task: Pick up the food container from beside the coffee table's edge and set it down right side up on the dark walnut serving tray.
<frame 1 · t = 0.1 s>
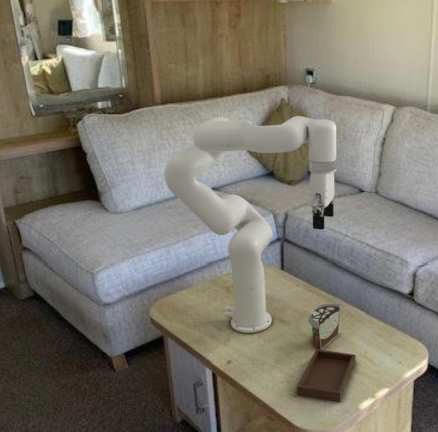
hand: (323, 222, 178), 37 cm above the table, tool pointing down, fingers open, 9 cm apart
tray: (327, 378, 170), on the table
food container: (321, 340, 188), on the table
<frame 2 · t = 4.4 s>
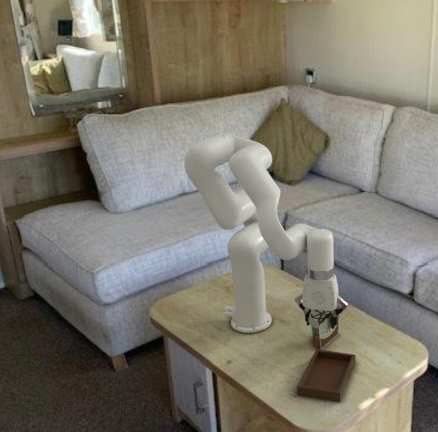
hand: (321, 324, 186), 5 cm above the table, tool pointing down, fingers closed on food container, 7 cm apart
food container: (321, 340, 188), on the table, touching gripper
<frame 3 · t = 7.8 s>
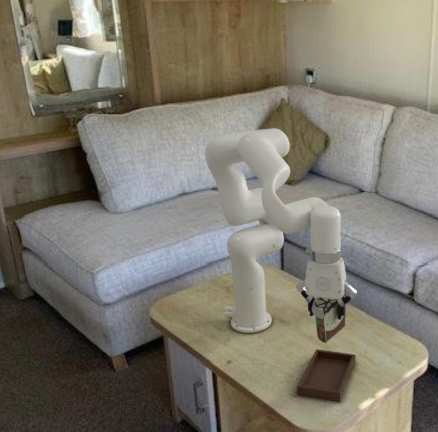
hand: (326, 314, 164), 19 cm above the table, tool pointing down, fingers closed on food container, 7 cm apart
food container: (326, 332, 166), point 14 cm above the table, touching gripper
when the fingers open (6 cm above the table, at t = 11.3 s): food container stays where it is, resting on tray.
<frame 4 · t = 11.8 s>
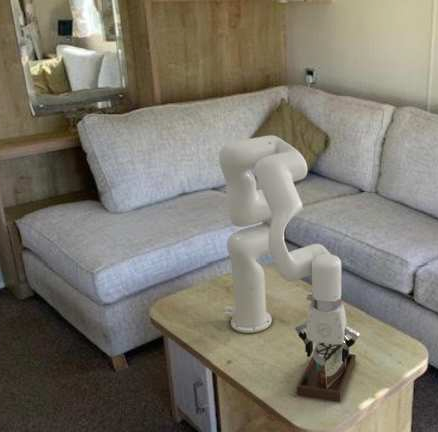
hand: (327, 356, 168), 7 cm above the table, tool pointing down, fingers open, 9 cm apart
food container: (326, 376, 170), point 1 cm above the table, touching tray
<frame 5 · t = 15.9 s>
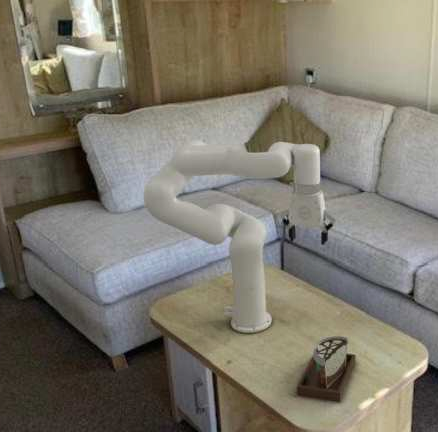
hand: (308, 241, 186), 28 cm above the table, tool pointing down, fingers open, 9 cm apart
nothing on the table moved.
at the end: food container 0.2 cm off-centre in the tray, point 0.6 cm above the tray's base; food container tilted 0° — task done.
